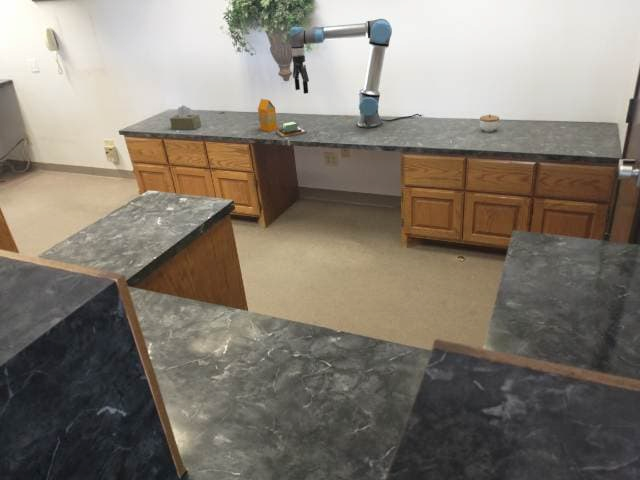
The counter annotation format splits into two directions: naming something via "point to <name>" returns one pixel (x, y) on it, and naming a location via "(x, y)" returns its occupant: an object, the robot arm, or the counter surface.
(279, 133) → the tan flat rectangular frame
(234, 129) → the counter surface
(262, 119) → the orange juice
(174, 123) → the tissue box
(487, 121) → the trinket box
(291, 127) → the pale green block
